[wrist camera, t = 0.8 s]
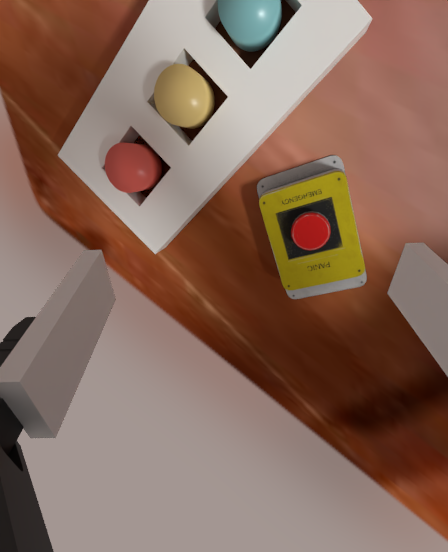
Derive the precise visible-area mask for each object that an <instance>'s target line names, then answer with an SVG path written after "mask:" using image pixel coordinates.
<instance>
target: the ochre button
mask: <svg viewBox="0 0 448 552" xmlns="http://www.w3.org/2000/svg"><path fill="white" fill-rule="evenodd" d="M154 100H155V105H156V108H157V110H158V112H159V113H160V115H161V116H162V117H163V118H164V119H165V120H166V121H167V122H169V123H171V124H173V125H177V126H181V127H185V128H189V129H194V128H199V127H201V126H203V125H204V124H205V123H206V122H207V121H208V120H209V119H210V117H211V115H212V113H213V110H214V105H215V97H214V92H213V89H212V87H211V85H210V84H209V82H208V81H207V80H206V79H205V78H204V77H202V76H201V75H200V74H199V73H197V72H196V71H195V70H194V69H192V68H191V67H189V66H187V65H184V64H173V65H171V66H169V67H167V68H166V69H164V70H163V71H162V72H161V74H160V75H159V77H158V79H157V81H156V84H155V88H154Z"/></svg>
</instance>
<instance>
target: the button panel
mask: <svg viewBox="0 0 448 552" xmlns="http://www.w3.org/2000/svg"><path fill="white" fill-rule="evenodd" d="M286 2H287V3H288V4H289V5H290V6H291V7H292V9H293V10H294V11H295V12H296V13H295V15H294V16H293V17H292V18H291V20H290V21H289V22H288V23H287V25H286V26H285V27H284V28H283V30H282V31H281V32H280V33H279V35H278V36H277V37H276V38H275V39H274V41H273V42H272V43H271V44H270V46H269V47H268V48H267V49H266V51H265V52H264V53H263V54H262V56H261V57H260V58H259V59H258V61H257V62H256V63H255V64H254V65H253V67H252V68H251V69H250V68H249V67H248V66H247V65H246V63H245V62H244V61H243V60H242V59H241V58H240V57H239V56H238V54H237V53H236V52H235V51H234V50H233V49H232V48H231V46H230V45H229V44H228V43H227V42H226V41H225V40H224V39H223V37H222V36H221V35H220V34H219V33H218V32H217V31H216V29H215V28H216V26H217V25H218V24H219V22H220V21H221V20H220V17H219V12H218V0H149V1H148V3H147V5H146V6H145V8H144V10H143V11H142V13H141V15H140V16H139V18H138V20H137V21H136V23H135V25H134V27H133V28H132V30H131V32H130V33H129V35H128V37H127V38H126V40H125V42H124V43H123V45H122V47H121V49H120V50H119V52H118V54H117V55H116V57H115V59H114V60H113V62H112V64H111V66H110V67H109V69H108V71H107V72H106V74H105V76H104V77H103V79H102V81H101V82H100V84H99V86H98V88H97V89H96V91H95V93H94V94H93V96H92V98H91V99H90V101H89V103H88V105H87V106H86V108H85V110H84V111H83V113H82V115H81V116H80V118H79V120H78V121H77V123H76V125H75V127H74V128H73V130H72V132H71V133H70V135H69V137H68V138H67V140H66V142H65V144H64V145H63V147H62V149H61V150H60V152H59V154H58V156H59V157H60V158H61V159H62V160H63V161H64V162H65V163H66V164H67V165H68V166H69V167H70V168H71V170H72V171H73V172H74V173H75V174H76V175H77V176H78V177H79V178H80V179H81V180H82V181H83V182H84V183H85V184H86V185H87V186H88V187H89V188H90V189H91V190H92V191H93V192H94V193H95V194H96V195H97V196H98V197H99V198H100V199H101V200H102V201H103V202H104V203H105V204H106V205H107V206H108V207H109V208H110V209H111V210H112V211H113V212H114V213H115V214H116V215H117V216H118V217H119V218H120V219H121V220H122V221H123V222H124V223H125V224H126V225H127V226H128V227H129V228H130V229H131V230H132V231H133V232H134V233H135V234H136V235H137V236H138V237H139V238H140V239H141V240H142V241H143V242H144V243H145V244H146V245H147V246H148V247H149V248H150V249H151V250H152V251H153V252H154V254H156V253H158V252H159V251H161V250H163V249H164V248H166V247H167V245H168V244H169V243H170V242H171V241H172V240H173V239H174V238H175V237H176V236H177V235H178V234H179V233H180V231H181V230H182V229H183V228H184V227H185V226H186V225H187V224H188V223H189V222H190V221H191V220H192V219H193V218H194V216H195V215H196V214H197V213H198V212H199V211H200V210H201V209H202V208H203V207H204V206H205V205H206V204H207V202H208V201H209V200H210V199H211V198H212V197H213V196H214V195H215V194H216V193H217V192H218V191H219V190H220V189H221V187H222V186H223V185H224V184H225V183H226V182H227V181H228V180H229V179H230V178H231V177H232V176H233V175H234V173H235V172H236V171H237V170H238V169H239V168H240V167H241V166H242V165H243V164H244V163H245V162H246V161H247V160H248V158H249V157H250V156H251V155H252V154H253V153H254V152H255V151H256V150H257V149H258V148H259V147H260V146H261V144H262V143H263V142H264V141H265V140H266V139H267V138H268V137H269V136H270V135H271V134H272V133H273V132H274V131H275V129H276V128H277V127H278V126H279V125H280V124H281V123H282V122H283V121H284V120H285V119H286V118H287V117H288V115H289V114H290V113H291V112H292V111H293V110H294V109H295V108H296V107H297V106H298V105H299V104H300V103H301V101H302V100H303V99H304V98H305V97H306V96H307V95H308V94H309V93H310V92H311V91H312V90H313V89H314V88H315V86H316V85H317V84H318V83H319V82H320V81H321V80H322V79H323V78H324V77H325V76H326V75H327V74H328V72H329V71H330V70H331V69H332V68H333V67H334V66H335V65H336V64H337V63H338V62H339V61H340V60H341V59H342V57H343V56H344V55H345V54H346V53H347V52H348V51H349V50H350V49H351V48H352V47H353V46H354V45H355V43H356V42H357V41H358V40H359V39H360V38H361V37H362V36H363V35H364V34H365V33H366V31H367V29H368V27H369V25H370V23H371V20H372V17H371V16H370V15H369V14H368V13H367V11H366V10H365V9H364V8H363V6H362V5H361V4H360V3H359V2H358V0H286ZM193 59H194V60H195V61H196V62H197V63H198V64H199V65H200V66H201V67H202V68H203V70H204V71H205V72H206V73H207V74H208V75H209V76H210V77H211V78H212V80H213V81H214V82H215V83H216V84H217V85H218V86H219V87H220V88H221V90H222V91H223V92H224V93H225V94H226V95H227V96H228V98H227V99H226V100H225V101H224V103H223V104H222V105H221V106H220V108H219V109H218V110H217V111H216V113H215V114H214V115H213V116H212V118H211V119H210V120H209V121H208V122H207V124H206V125H205V126H204V127H203V129H202V130H201V131H200V132H199V134H198V135H197V136H196V137H195V139H194V140H193V141H192V140H191V139H190V138H189V137H188V136H187V135H186V134H185V133H184V132H183V131H182V129H181V128H180V127H179V126H177V125H173V124H171V123H169V122H167V121H166V120H165V119H164V118H163V117H162V116H161V115H160V113H159V112H158V110H157V108H156V105H155V100H154V88H155V84H156V81H157V79H158V77H159V75H160V74H161V72H162V71H163V70H164V69H166V68H167V67H169V66H171V65H173V64H184V65H187V66H189V64H190V63H191V62H192V60H193ZM139 135H140V136H141V137H142V138H143V139H144V140H145V141H146V142H147V143H148V144H149V145H150V146H151V147H152V148H153V149H154V150H155V151H156V152H157V153H158V155H159V156H160V157H161V158H162V159H163V160H164V161H165V162H166V163H167V164H168V165H169V166H170V167H171V168H170V170H169V171H168V172H167V173H166V175H165V176H164V177H163V178H162V179H161V181H160V182H159V183H158V184H157V186H156V187H155V188H154V189H153V191H152V192H151V193H150V194H149V196H148V197H147V198H146V197H145V196H144V195H143V194H142V193H141V192H140V191H138V192H133V193H125V192H122V191H120V190H118V189H117V188H115V187H114V186H113V185H112V184H111V182H110V181H109V179H108V177H107V175H106V171H105V158H106V155H107V152H108V151H109V149H110V148H111V147H112V146H114V145H115V144H117V143H134V142H135V141H136V139H137V138H138V136H139Z"/></svg>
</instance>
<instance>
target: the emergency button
mask: <svg viewBox="0 0 448 552" xmlns="http://www.w3.org/2000/svg"><path fill="white" fill-rule="evenodd" d="M257 193H258V196H259V206H260V210H261V213H262V216H263V220H264V223H265V227H266V230H267V234H268V237H269V241H270V244H271V247H272V251H273V254H274V258H275V261H276V265H277V268H278V271H279V275H280V278H281V282H282V285H283V287H284V288H285V289H286V293H287V294H288V296H289V297H290V298H292V299H300V298H305V297H310V296H315V295H321V294H326V293H331V292H336V291H341V290H346V289H351V288H356V287H360V286H363V285H364V284H365V282H366V280H367V275H366V271H365V265H364V260H363V255H362V250H361V245H360V241H359V236H358V231H357V226H356V221H355V217H354V212H353V207H352V202H351V197H350V193H349V188H348V183H347V178H346V175H345V170H344V165H343V162H342V160H341V158H339V157H338V156H336V155H333V156H328V157H325V158H322V159H319V160H316V161H314V162H311V163H308V164H305V165H302V166H299V167H296V168H293V169H290V170H287V171H284V172H281V173H278V174H275V175H272V176H269V177H266V178H263V179H262V180H260V181H259V182H258V185H257Z"/></svg>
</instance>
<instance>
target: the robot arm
mask: <svg viewBox="0 0 448 552" xmlns="http://www.w3.org/2000/svg"><path fill="white" fill-rule="evenodd" d="M387 294H388V295H389V296H390V298H391V299H392V301H393V302H394V303H395V305H396V306H397V307H398V309H399V310H400V312H401V313H402V314H403V316H404V317H405V318H406V320H407V321H408V323H409V324H410V325H411V327H412V328H413V330H414V331H415V332H416V334H417V335H418V336H419V338H420V339H421V341H422V342H423V343H424V345H425V346H426V348H427V349H428V350H429V352H430V353H431V354H432V356H433V357H434V359H435V360H436V361H437V363H438V364H439V365H440V367H441V368H442V370H443V371H444V372H445V374H446V375H447V377H448V264H447V263H446V262H445V261H443V260H442V259H441V258H440V257H439V256H438V255H437V254H436V253H434V252H433V251H432V250H431V249H430V248H429V247H428V246H427V245H425V244H424V243H406V244H405V246H404V249H403V252H402V255H401V257H400V260H399V263H398V265H397V268H396V271H395V274H394V276H393V279H392V282H391V285H390V287H389V290H388V293H387ZM115 300H116V299H115V295H114V292H113V288H112V285H111V281H110V278H109V274H108V271H107V267H106V264H105V260H104V257H103V253H102V250H84V251H83V252H82V254H81V255H80V256H79V258H78V259H77V261H76V262H75V263H74V265H73V266H72V268H71V269H70V270H69V272H68V273H67V275H66V276H65V277H64V279H63V280H62V282H61V283H60V285H59V286H58V287H57V289H56V290H55V292H54V293H53V294H52V296H51V297H50V299H49V300H48V301H47V303H46V304H45V306H44V307H43V308H42V310H41V311H40V312H39V314H38V315H37V317H26V318H25V319H23V320H22V321H21V322H19V323H18V324H17V325H15V326H14V327H13V328H12V329H11V330H10V331H9V333H8V334H7V335H6V337H5V338H4V339H3V342H1V343H0V552H53V549H52V545H51V542H50V539H49V536H48V533H47V529H46V526H45V524H44V520H43V517H42V513H41V510H40V507H39V504H38V501H37V498H36V494H35V491H34V488H33V485H32V481H31V478H30V475H29V472H28V469H27V465H26V462H25V459H24V456H23V453H22V449H21V446H20V445H19V443H18V442H17V439H18V437H19V435H20V433H21V431H22V429H23V428H24V430H25V431H26V433H27V434H28V435H29V437H30V438H55V437H56V436H57V433H58V431H59V429H60V427H61V424H62V422H63V420H64V417H65V415H66V413H67V411H68V408H69V406H70V403H71V401H72V399H73V397H74V394H75V392H76V390H77V387H78V385H79V383H80V380H81V378H82V376H83V374H84V371H85V369H86V367H87V364H88V362H89V360H90V358H91V355H92V353H93V350H94V348H95V346H96V344H97V341H98V339H99V337H100V334H101V332H102V330H103V327H104V325H105V323H106V320H107V318H108V316H109V314H110V311H111V309H112V307H113V305H114V302H115Z"/></svg>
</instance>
